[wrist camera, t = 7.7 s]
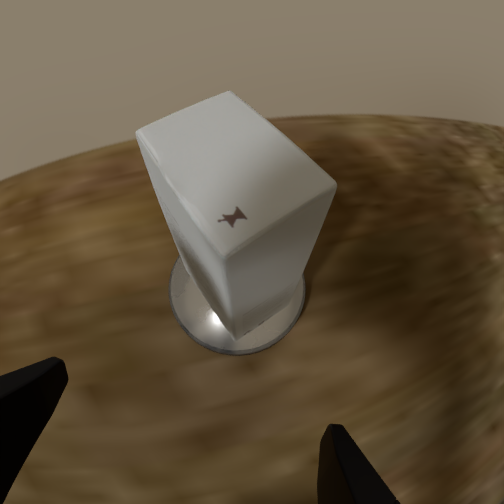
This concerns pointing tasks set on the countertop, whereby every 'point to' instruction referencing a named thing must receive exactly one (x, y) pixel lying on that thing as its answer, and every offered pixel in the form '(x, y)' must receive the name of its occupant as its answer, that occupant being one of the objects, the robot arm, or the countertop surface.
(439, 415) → the countertop surface
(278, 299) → the skincare box
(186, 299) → the silver round plate
